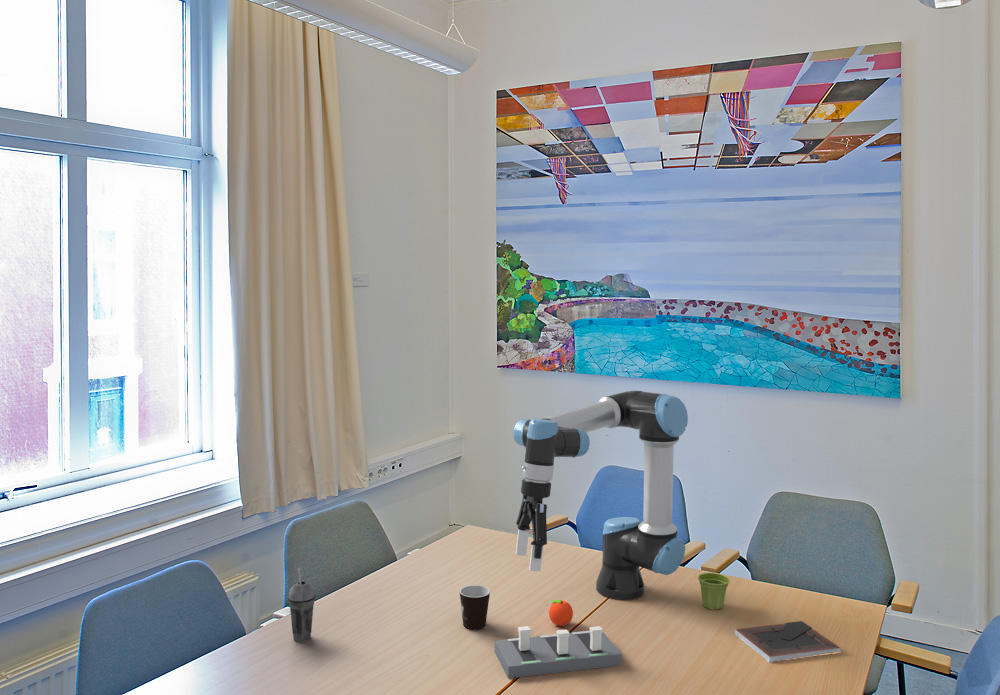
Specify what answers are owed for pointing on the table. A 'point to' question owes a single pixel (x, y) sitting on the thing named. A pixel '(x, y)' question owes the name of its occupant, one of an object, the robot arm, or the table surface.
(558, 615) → the clementine
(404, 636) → the table surface
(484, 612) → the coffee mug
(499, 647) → the switch panel
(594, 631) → the switch
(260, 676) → the table surface
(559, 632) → the switch middle
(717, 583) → the plant pot
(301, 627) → the beverage cup
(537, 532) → the robot arm
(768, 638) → the brown book
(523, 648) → the switch
